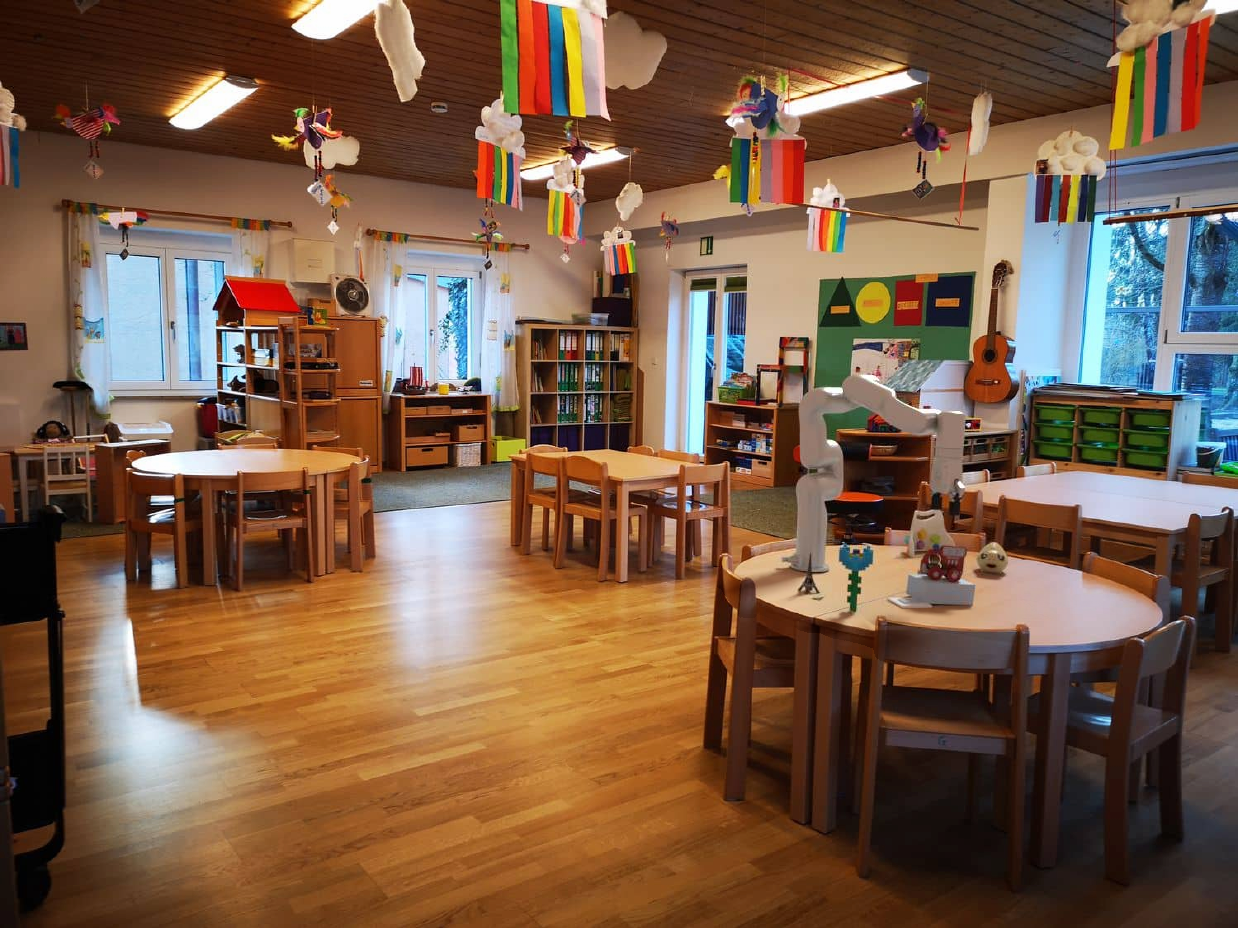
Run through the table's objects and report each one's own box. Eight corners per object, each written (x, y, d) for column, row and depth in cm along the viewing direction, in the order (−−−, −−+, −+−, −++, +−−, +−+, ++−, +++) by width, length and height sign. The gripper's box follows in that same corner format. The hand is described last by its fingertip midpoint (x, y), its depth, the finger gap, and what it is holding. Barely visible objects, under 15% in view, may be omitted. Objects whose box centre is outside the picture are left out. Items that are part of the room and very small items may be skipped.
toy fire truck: (916, 574, 262) (920, 540, 261) (959, 578, 261) (963, 544, 260) (921, 579, 255) (925, 544, 254) (965, 583, 254) (969, 548, 253)
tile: (902, 608, 248) (902, 604, 248) (887, 599, 257) (887, 596, 257) (931, 607, 250) (932, 604, 250) (916, 599, 259) (916, 596, 258)
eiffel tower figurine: (820, 602, 255) (822, 556, 253) (786, 597, 259) (788, 552, 258) (832, 591, 268) (835, 548, 266) (800, 586, 272) (802, 544, 271)
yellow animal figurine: (974, 575, 292) (976, 544, 291) (976, 568, 303) (978, 538, 302) (1006, 579, 288) (1009, 547, 287) (1007, 572, 299) (1009, 541, 298)
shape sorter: (935, 553, 329) (939, 506, 327) (956, 559, 319) (959, 511, 317) (892, 556, 321) (895, 508, 320) (912, 562, 312) (915, 513, 310)
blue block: (925, 603, 251) (927, 582, 251) (906, 593, 262) (908, 574, 262) (972, 605, 254) (975, 584, 254) (952, 595, 265) (954, 575, 264)
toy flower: (869, 615, 239) (873, 550, 237) (835, 612, 242) (839, 548, 240) (870, 607, 248) (873, 544, 246) (837, 604, 250) (840, 542, 248)
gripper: (921, 450, 262) (918, 507, 263) (953, 456, 245) (948, 517, 246) (945, 451, 263) (941, 507, 265) (977, 457, 246) (973, 517, 248)
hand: (944, 512), depth 256 cm, fingers open, 9 cm apart
